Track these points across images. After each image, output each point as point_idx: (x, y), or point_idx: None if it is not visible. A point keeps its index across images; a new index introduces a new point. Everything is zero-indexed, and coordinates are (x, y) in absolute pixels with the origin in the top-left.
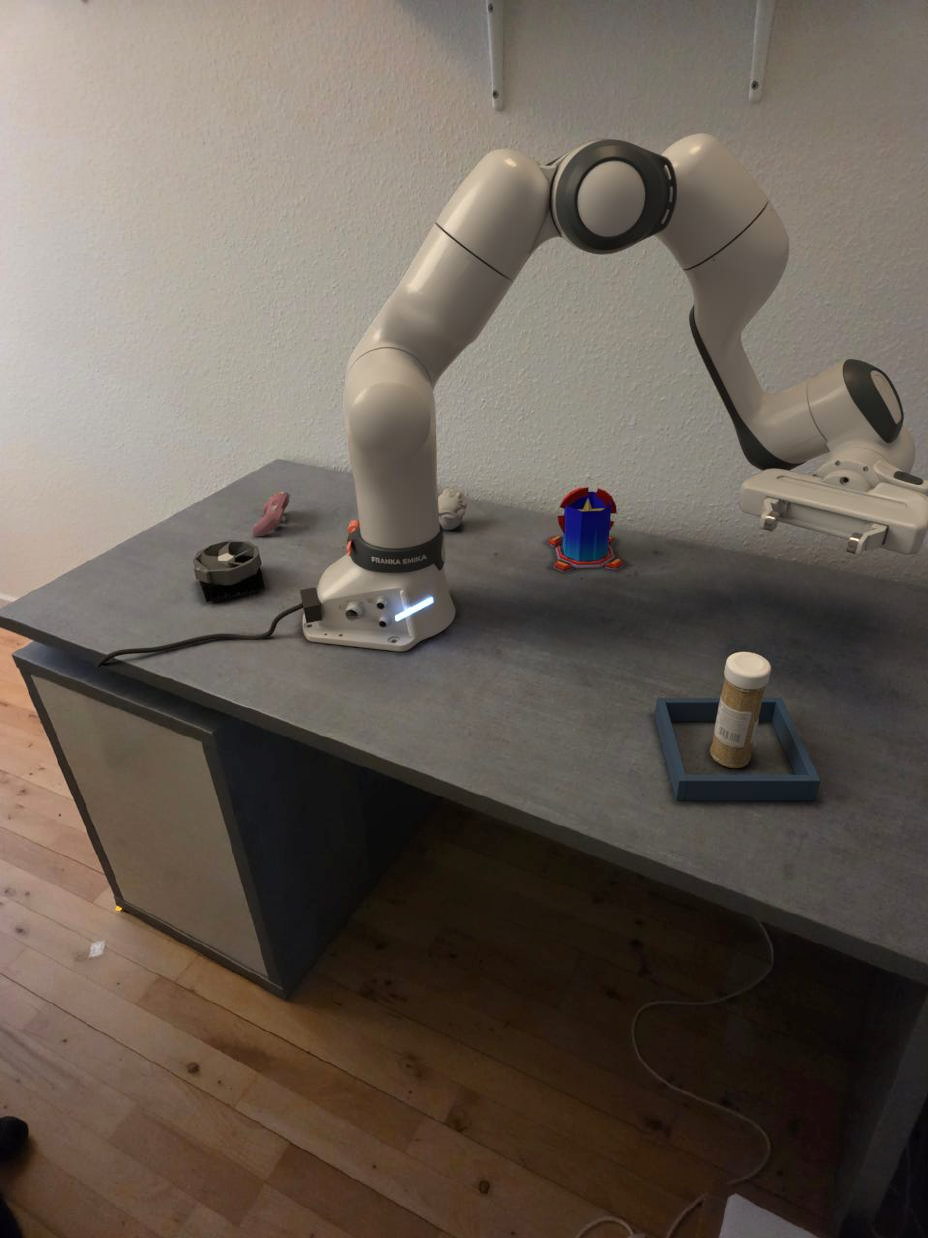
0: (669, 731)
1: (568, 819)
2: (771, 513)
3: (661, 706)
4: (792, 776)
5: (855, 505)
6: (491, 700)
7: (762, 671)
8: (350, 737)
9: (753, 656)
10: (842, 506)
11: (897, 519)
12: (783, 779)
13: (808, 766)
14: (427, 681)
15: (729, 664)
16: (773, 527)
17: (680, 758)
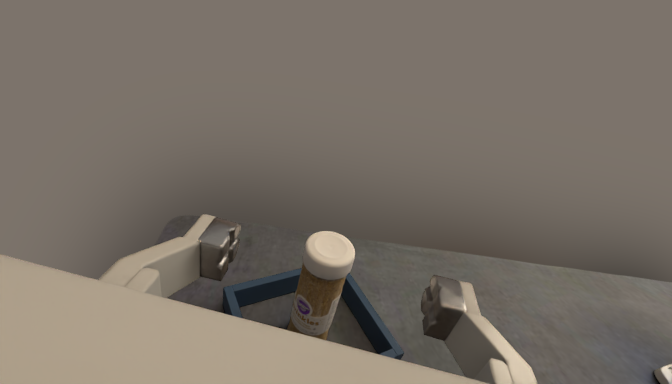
0: (369, 307)
1: (391, 245)
2: (457, 296)
3: (393, 339)
4: (250, 284)
5: (198, 361)
6: (528, 334)
7: (313, 237)
8: (549, 267)
9: (329, 257)
10: (259, 337)
11: (39, 280)
12: (258, 279)
13: (233, 301)
14: (588, 339)
15: (349, 241)
16: (425, 299)
17: (347, 279)
